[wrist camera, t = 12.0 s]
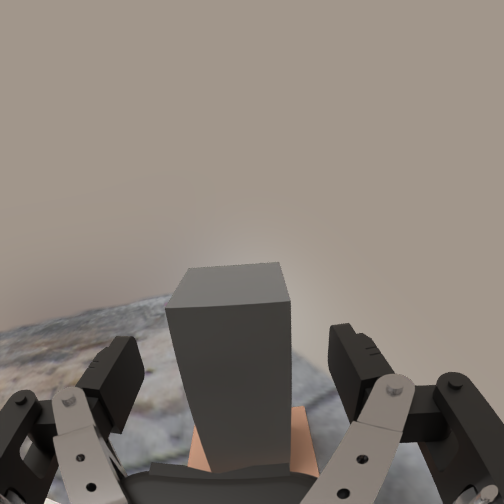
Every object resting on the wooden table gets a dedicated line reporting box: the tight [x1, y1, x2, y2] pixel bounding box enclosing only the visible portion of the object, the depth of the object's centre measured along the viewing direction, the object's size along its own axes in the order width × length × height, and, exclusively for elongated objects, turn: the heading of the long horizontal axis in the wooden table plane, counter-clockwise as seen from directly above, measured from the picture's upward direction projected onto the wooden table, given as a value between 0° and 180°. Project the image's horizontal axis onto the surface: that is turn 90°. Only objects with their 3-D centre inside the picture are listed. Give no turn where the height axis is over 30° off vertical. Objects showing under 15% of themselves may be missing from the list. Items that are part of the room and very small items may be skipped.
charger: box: [165, 262, 292, 473], centre depth 14 cm, size 4×5×12 cm
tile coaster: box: [188, 406, 319, 477], centre depth 16 cm, size 8×8×1 cm
